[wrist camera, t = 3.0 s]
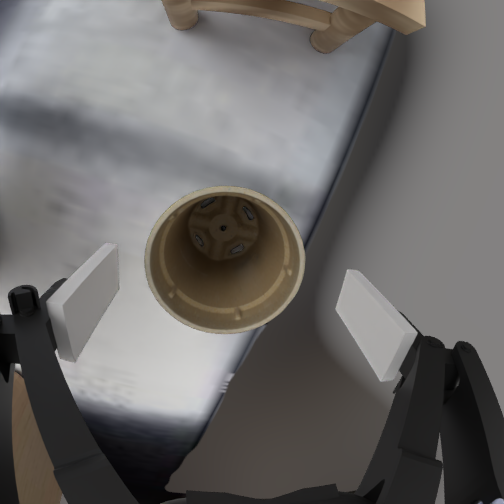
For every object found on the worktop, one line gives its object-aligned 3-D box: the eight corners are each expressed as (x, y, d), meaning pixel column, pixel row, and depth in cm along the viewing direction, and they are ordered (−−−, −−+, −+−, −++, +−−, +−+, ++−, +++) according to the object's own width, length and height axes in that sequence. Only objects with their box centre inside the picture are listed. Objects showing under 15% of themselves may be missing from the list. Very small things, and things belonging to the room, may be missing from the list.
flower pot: (234, 295, 27) (242, 356, 19) (148, 240, 24) (118, 286, 16) (298, 215, 25) (336, 249, 17) (209, 149, 22) (204, 151, 14)
